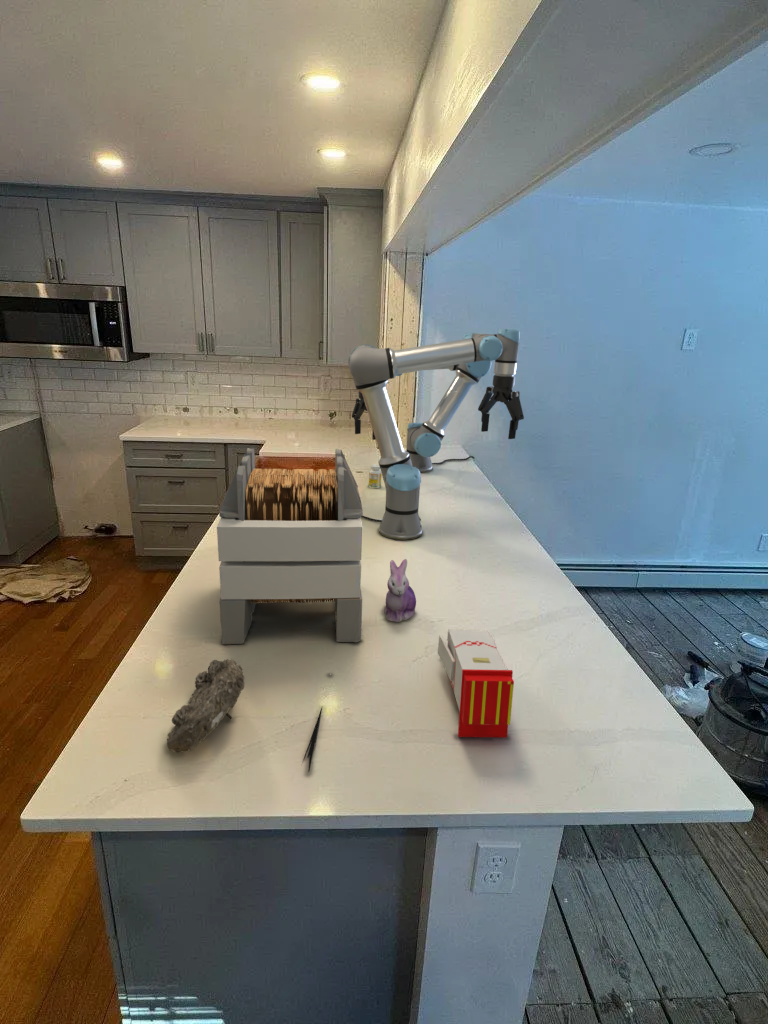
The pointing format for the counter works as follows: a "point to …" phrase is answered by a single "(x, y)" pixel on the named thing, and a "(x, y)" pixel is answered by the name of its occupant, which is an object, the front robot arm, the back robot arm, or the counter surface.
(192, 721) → the fossil
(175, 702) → the counter surface
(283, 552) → the transformer
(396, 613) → the figurine
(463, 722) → the toy
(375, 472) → the supplement bottle
